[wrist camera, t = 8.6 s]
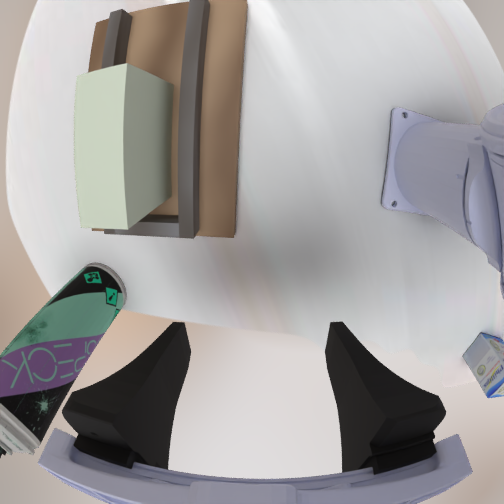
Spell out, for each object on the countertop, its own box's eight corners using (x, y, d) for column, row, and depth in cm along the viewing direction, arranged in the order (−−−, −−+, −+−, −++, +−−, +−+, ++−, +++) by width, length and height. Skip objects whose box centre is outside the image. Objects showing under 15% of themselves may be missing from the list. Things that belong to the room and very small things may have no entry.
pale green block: (173, 85, 15) (127, 63, 9) (171, 196, 18) (128, 229, 12) (134, 89, 15) (76, 76, 9) (134, 196, 19) (81, 227, 12)
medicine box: (501, 337, 26) (527, 374, 18) (484, 359, 27) (507, 397, 19) (480, 331, 25) (511, 374, 17) (461, 356, 27) (487, 400, 19)
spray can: (112, 319, 25) (21, 480, 7) (74, 284, 24) (-40, 427, 5) (136, 290, 23) (25, 484, 5) (93, 251, 22) (-54, 414, 4)
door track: (247, 5, 13) (245, -13, 11) (235, 232, 21) (230, 247, 18) (103, 26, 14) (84, 16, 11) (99, 225, 21) (80, 238, 18)
